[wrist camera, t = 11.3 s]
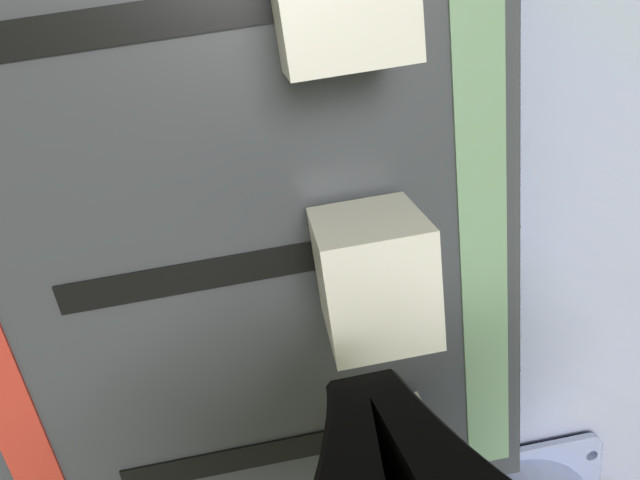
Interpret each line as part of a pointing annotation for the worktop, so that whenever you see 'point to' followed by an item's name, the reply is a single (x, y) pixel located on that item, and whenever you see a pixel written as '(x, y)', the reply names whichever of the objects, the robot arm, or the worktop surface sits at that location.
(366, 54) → the outer switch
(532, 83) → the worktop surface
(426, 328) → the middle switch
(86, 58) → the switch panel
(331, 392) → the robot arm
